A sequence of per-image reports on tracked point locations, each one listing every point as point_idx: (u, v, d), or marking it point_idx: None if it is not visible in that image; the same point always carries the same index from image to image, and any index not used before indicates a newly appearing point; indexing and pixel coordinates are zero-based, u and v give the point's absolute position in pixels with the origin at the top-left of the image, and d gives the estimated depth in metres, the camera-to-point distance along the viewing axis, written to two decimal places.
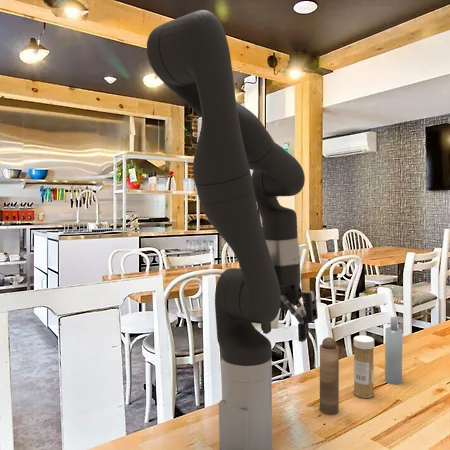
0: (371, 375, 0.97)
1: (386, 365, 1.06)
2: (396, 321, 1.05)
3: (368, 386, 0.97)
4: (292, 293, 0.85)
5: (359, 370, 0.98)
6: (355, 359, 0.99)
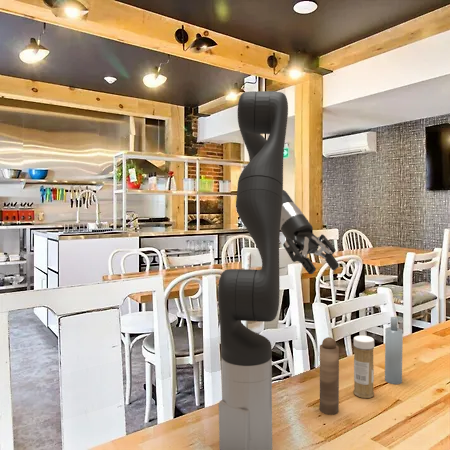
0: (371, 375, 0.97)
1: (386, 365, 1.06)
2: (396, 321, 1.05)
3: (368, 386, 0.97)
4: (314, 236, 1.13)
5: (359, 370, 0.98)
6: (355, 359, 0.99)
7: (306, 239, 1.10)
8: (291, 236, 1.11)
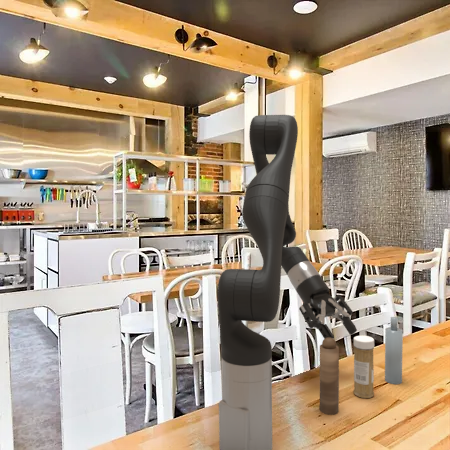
0: (371, 375, 0.97)
1: (386, 365, 1.06)
2: (396, 321, 1.05)
3: (368, 386, 0.97)
4: (330, 298, 1.10)
5: (359, 370, 0.98)
6: (355, 359, 0.99)
7: (323, 303, 1.06)
8: (307, 299, 1.07)
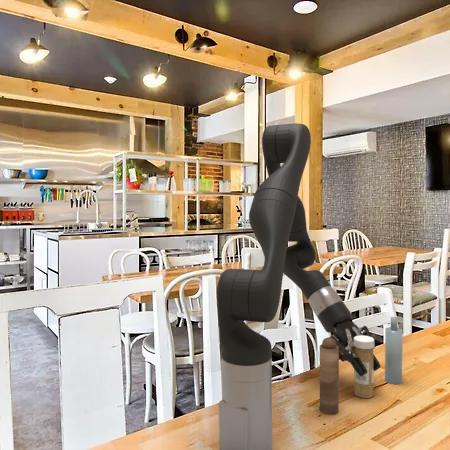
0: (371, 375, 0.97)
1: (386, 365, 1.06)
2: (396, 321, 1.05)
3: (368, 386, 0.97)
4: (354, 326, 1.04)
5: None
6: None
7: (348, 332, 1.01)
8: (330, 327, 1.02)
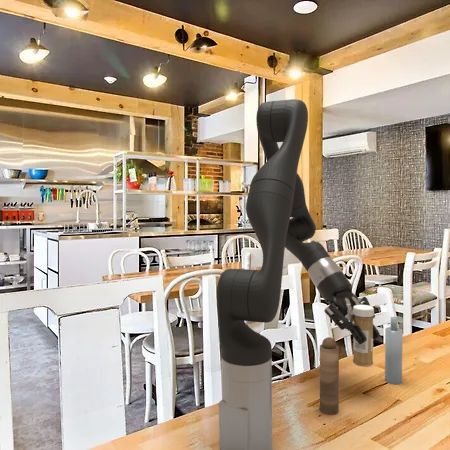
0: (370, 343, 0.97)
1: (386, 365, 1.06)
2: (396, 321, 1.05)
3: (367, 355, 0.97)
4: (354, 296, 1.04)
5: None
6: None
7: (347, 301, 1.00)
8: (330, 297, 1.01)
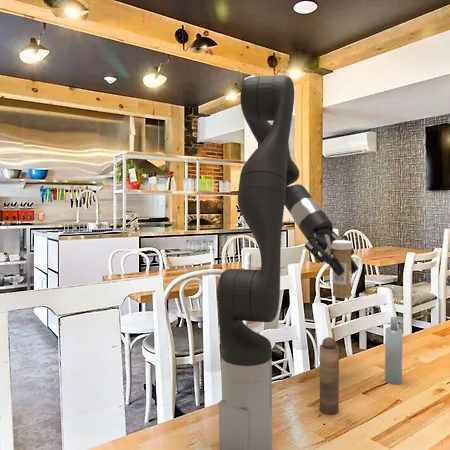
0: (349, 276, 1.01)
1: (386, 365, 1.06)
2: (396, 321, 1.05)
3: (345, 286, 1.01)
4: (334, 234, 1.08)
5: None
6: None
7: (327, 237, 1.04)
8: (310, 233, 1.05)
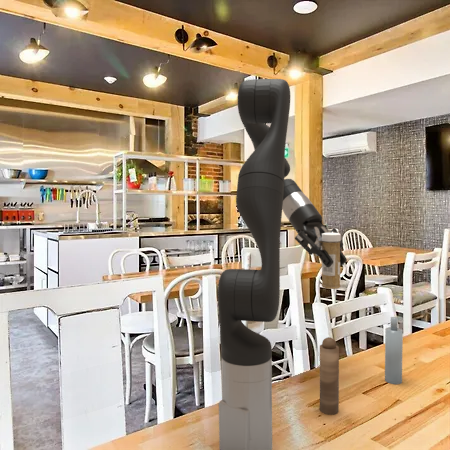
0: (337, 267, 1.03)
1: (386, 365, 1.06)
2: (396, 321, 1.05)
3: (334, 278, 1.03)
4: (324, 227, 1.10)
5: None
6: None
7: (316, 229, 1.06)
8: (300, 226, 1.08)
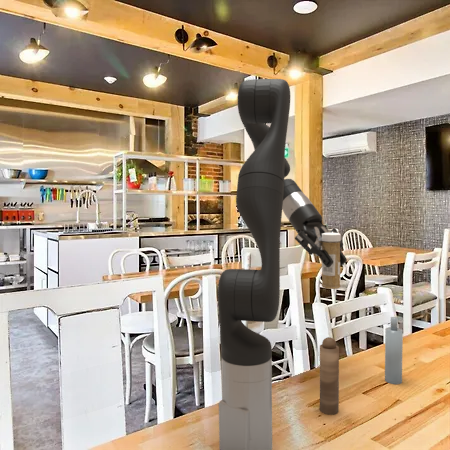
0: (337, 267, 1.03)
1: (386, 365, 1.06)
2: (396, 321, 1.05)
3: (334, 278, 1.03)
4: (324, 227, 1.10)
5: None
6: None
7: (316, 229, 1.06)
8: (300, 226, 1.08)
